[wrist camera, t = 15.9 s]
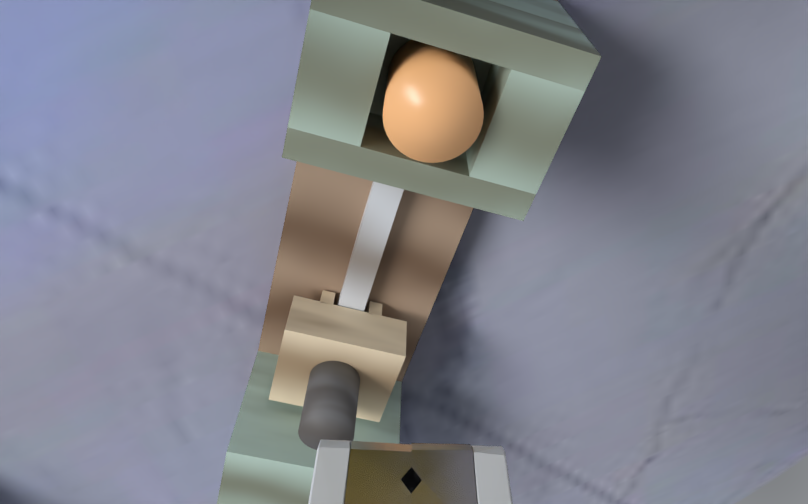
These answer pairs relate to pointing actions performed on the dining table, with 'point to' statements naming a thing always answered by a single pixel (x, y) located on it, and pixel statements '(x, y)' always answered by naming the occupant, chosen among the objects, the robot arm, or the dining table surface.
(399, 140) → the plunger
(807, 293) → the dining table surface
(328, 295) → the carriage
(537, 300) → the dining table surface
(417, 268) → the rail bed
